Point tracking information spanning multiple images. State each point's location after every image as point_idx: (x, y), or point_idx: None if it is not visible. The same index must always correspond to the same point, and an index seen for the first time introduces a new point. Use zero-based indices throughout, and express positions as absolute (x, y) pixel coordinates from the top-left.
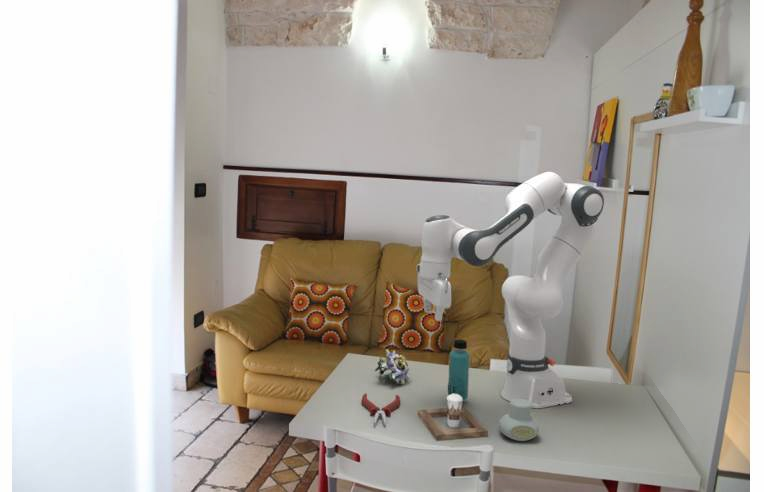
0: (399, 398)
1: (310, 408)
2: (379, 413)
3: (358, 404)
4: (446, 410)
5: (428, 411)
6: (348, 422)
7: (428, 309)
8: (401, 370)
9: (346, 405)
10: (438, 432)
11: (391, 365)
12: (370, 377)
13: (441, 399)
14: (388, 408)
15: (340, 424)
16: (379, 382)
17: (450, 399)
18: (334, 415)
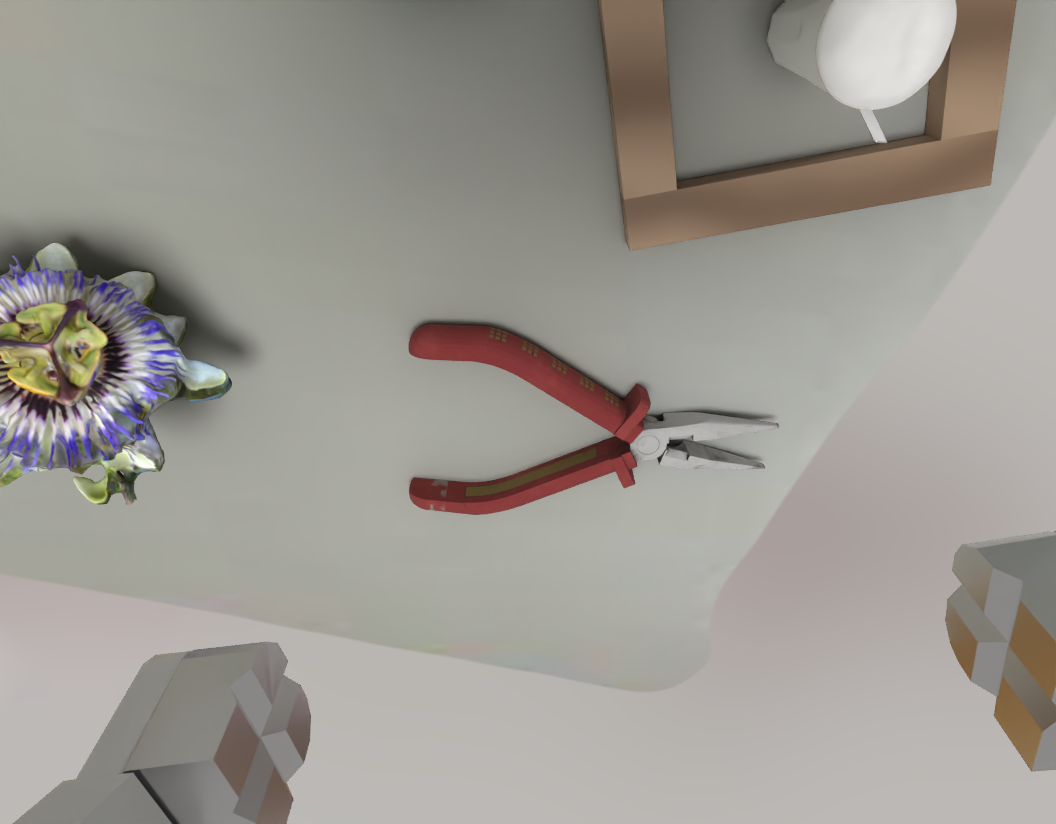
0: (462, 339)
1: (540, 669)
2: (666, 449)
3: None
4: (649, 53)
5: (656, 186)
6: (689, 551)
7: (262, 748)
8: (105, 327)
9: (504, 557)
10: (960, 169)
11: (139, 418)
12: None
13: (368, 36)
14: (611, 407)
15: (705, 577)
16: None
17: (918, 87)
18: (613, 596)
